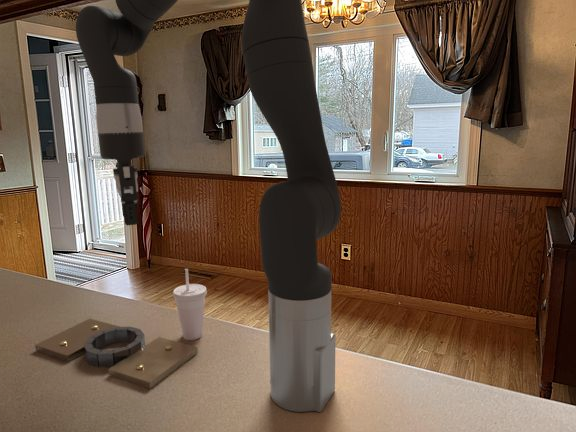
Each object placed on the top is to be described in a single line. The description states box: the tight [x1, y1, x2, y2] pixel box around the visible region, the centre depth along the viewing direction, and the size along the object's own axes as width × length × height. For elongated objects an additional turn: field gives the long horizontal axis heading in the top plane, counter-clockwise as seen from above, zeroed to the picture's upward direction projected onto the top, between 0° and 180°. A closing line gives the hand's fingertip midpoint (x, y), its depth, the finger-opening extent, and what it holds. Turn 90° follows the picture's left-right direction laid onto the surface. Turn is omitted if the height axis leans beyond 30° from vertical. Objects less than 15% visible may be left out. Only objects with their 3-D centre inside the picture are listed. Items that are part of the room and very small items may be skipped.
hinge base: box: [34, 318, 198, 390], centre depth 78 cm, size 28×12×2 cm, turn 64°
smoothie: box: [172, 268, 208, 341], centre depth 83 cm, size 6×6×14 cm
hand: (130, 220), depth 78 cm, fingers open, 8 cm apart
